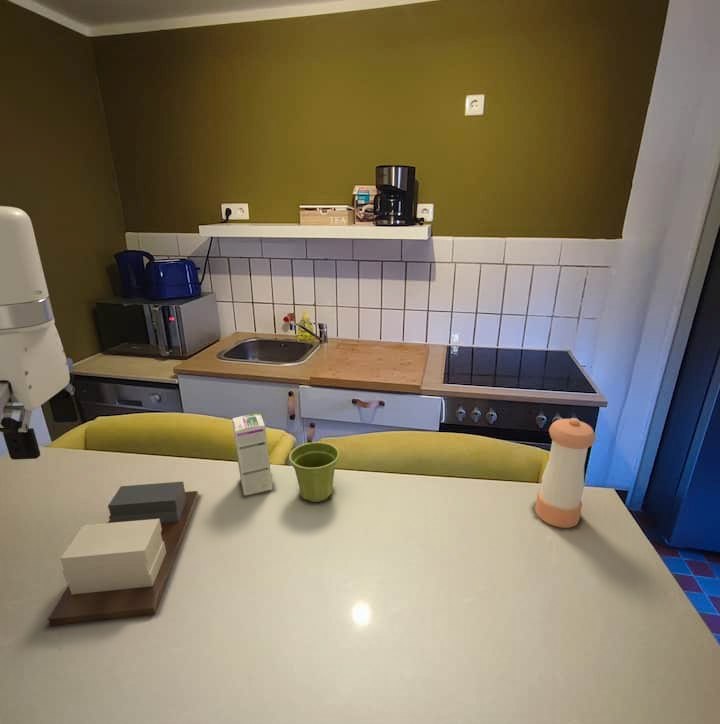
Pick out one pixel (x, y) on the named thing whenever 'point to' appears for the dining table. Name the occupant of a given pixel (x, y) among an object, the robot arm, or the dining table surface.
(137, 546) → the white book
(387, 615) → the dining table surface
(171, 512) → the grey stack
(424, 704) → the dining table surface
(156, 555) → the white stack
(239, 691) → the dining table surface
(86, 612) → the shelf board
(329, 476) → the plant pot
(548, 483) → the pepper shaker
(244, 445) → the syrup box
